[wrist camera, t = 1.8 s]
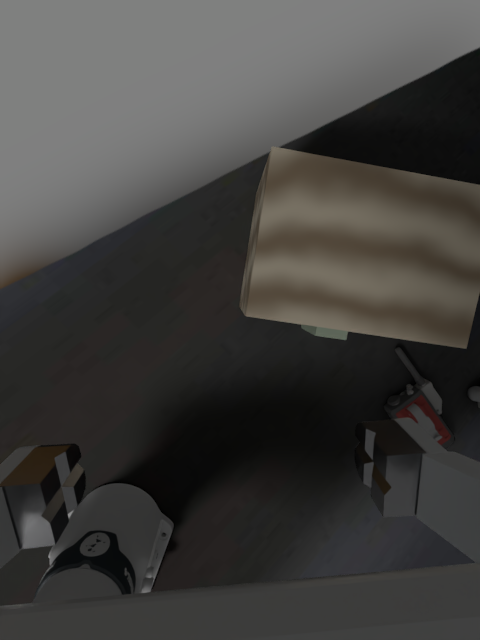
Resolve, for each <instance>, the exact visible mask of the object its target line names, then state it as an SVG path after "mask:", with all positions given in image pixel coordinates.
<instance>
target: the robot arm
mask: <svg viewBox="0 0 480 640" xmlns="http://www.w3.org/2000/svg"><path fill="white" fill-rule="evenodd" d="M355 436H356V437H357V439H358V440H359V444H358V445H357V446H356V448H355V463H356V468H357V471H358V474H359V476H360V478H361V480H362V482H363V483H364V484H365V485H367V486H368V487H370V488H371V497H372V499H373V501H374V502H375V504H376V506H377V508H378V509H379V511H380V513H381V514H382V516H383V517H397V516H415V515H416V517H417V518H418V519H419V520H421V521H422V522H423V523H425V524H426V525H427V526H429V527H430V528H431V529H432V530H434V531H435V532H436V533H438V534H439V535H440V536H442V537H443V538H444V539H446V540H447V541H448V542H450V543H451V544H452V545H454V546H455V547H456V548H458V549H459V550H460V551H462V552H463V553H464V554H465V555H467V556H468V557H469V558H471V559H472V560H473V561H475V562H476V563H471V564H460V565H449V566H437V567H426V568H415V569H404V570H393V571H382V572H371V573H360V574H349V575H337V576H326V577H315V578H304V579H293V580H282V581H270V582H259V583H248V584H237V585H226V586H214V587H203V588H192V589H181V590H169V591H158V592H150V591H151V588H152V586H153V583H154V580H155V577H156V575H157V572H158V569H159V566H160V564H161V561H162V558H163V555H164V553H165V550H166V547H167V544H168V542H169V539H170V536H171V534H172V531H173V528H174V524H173V522H172V521H171V520H170V519H169V518H168V517H166V516H165V515H164V514H162V512H161V511H160V510H159V508H158V506H157V504H156V503H155V501H154V500H153V499H152V497H151V496H150V495H149V494H147V493H146V492H145V491H143V490H142V489H140V488H138V487H135V486H133V485H129V484H123V483H114V484H108V485H104V486H101V487H99V488H97V489H95V490H93V491H92V492H91V493H89V494H88V495H87V496H86V497H85V498H84V500H83V501H82V502H81V503H80V501H81V500H82V498H83V494H84V490H85V487H86V476H85V471H84V469H83V468H82V467H81V466H80V465H79V464H77V463H78V462H79V460H80V458H81V453H80V449H79V446H78V445H76V444H57V445H41V446H26V447H21V448H17V449H16V450H15V451H14V452H13V453H12V454H11V455H10V456H9V457H8V458H7V459H6V460H5V461H3V462H2V463H1V464H0V568H2V567H3V566H4V565H5V564H6V563H7V562H8V561H9V560H11V559H12V558H13V557H14V556H15V555H16V554H17V553H18V552H20V549H26V548H34V547H43V546H51V545H53V547H52V549H51V551H50V553H49V556H48V557H49V558H50V567H49V568H48V569H47V571H46V573H45V574H44V576H43V578H42V580H41V582H40V585H39V586H38V588H37V590H36V593H35V597H34V600H33V602H32V603H28V604H17V605H6V606H0V640H480V462H478V461H476V460H473V459H471V458H468V457H466V456H464V455H461V454H459V453H456V452H454V451H453V452H448V451H446V450H445V449H444V448H443V447H442V446H441V445H440V444H439V443H438V442H437V441H436V440H434V439H433V438H432V437H431V436H430V435H429V434H428V433H427V432H426V431H425V430H424V429H422V428H421V427H420V426H419V425H418V424H417V423H416V422H415V421H414V420H413V419H411V418H408V417H406V418H397V419H391V420H380V421H370V422H359V423H357V425H356V430H355ZM79 503H80V504H79ZM163 533H166V534H163Z"/></svg>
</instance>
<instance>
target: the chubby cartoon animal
mask: <svg viewBox="0 0 480 640" xmlns="http://www.w3.org/2000/svg"><path fill="white" fill-rule="evenodd" d="M467 393H468V397H469V398H470V399H471V400H473V401H476V402H478V403H477V404H478V407H479V409H480V387H478V386H472V387H470V388H469V389H468V392H467Z"/></svg>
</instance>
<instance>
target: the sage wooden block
mask: <svg viewBox="0 0 480 640" xmlns="http://www.w3.org/2000/svg"><path fill="white" fill-rule="evenodd" d="M301 328H303V329H304V330H306V331H308V332H310V333H312V334H313V335H315V336H322V337H328V338H335V339H342V340H346V339H347V334H348V331H343V330H336V329H329V328H322V327H316V326H309V325H301Z"/></svg>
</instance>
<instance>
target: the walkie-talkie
mask: <svg viewBox="0 0 480 640" xmlns="http://www.w3.org/2000/svg"><path fill="white" fill-rule="evenodd" d="M395 352H396V353H397V355H398V356H399V357H400V359H401V360H402V362H403V363H404V365H405V366H406V367H407V369H408V370H409V372H410V373H411V374H412V376H413V377H414V380H415V382H416V383H417V384H415V385H414V386H412V385H411V384H407V385H406V387H407V388H406V389H405V390H404V391H403V392H401V393H400V394H399V395H393V396H390V397H389V398H388V400H387V402H388V403H387V404H385V405H384V409H385V411H386V413H387V414H388V415H389V416H390V417H391V419H397V418H406V417H408V418H411V419H413V420H414V421H415V422H416V423H417V424H418V425H419V426H420V427H421V428H422V429H424V430H425V431H426V432H427V433H428V434H429V435H430V436H431V437H432V438H433V439H434V440H436V441H437V442H438V443H439V444H440V445H441V446H442V447H443V448H444V449H446V448H448V447H449V446H451V445H452V444H453V443H454V441H455V437H454V435H453V433H452V432H451V430H450V429H449V428H448V426H447V425H446V423H445V422H444V420H443V419H442V415H441V413H442V399H441V398H440V396H439V395H438V393H437V392H436V390H435V389H434V388H433V384H432V383H431V382H430V381H428V380H426V379H423V377H422V376H420V375H419V373H418V372H417V370H416V369H415V367H414V366H413V365H412V363H411V362H410V360H409V359H408V358H407V356H406V355H405V353H404V352H403V350H402V349H401V348H400V347H396V348H395Z"/></svg>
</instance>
